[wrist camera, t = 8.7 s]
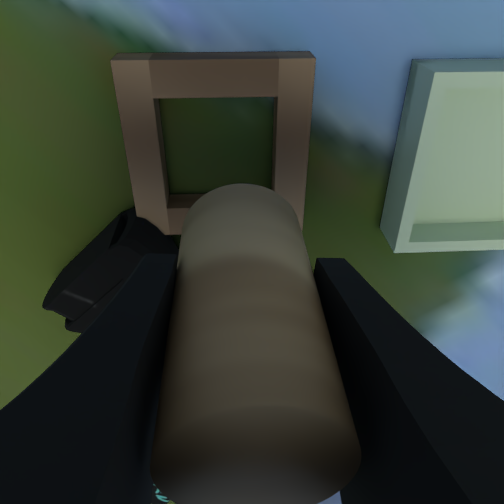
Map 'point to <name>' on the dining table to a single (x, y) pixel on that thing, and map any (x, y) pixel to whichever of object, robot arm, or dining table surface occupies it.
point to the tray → (448, 159)
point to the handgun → (106, 275)
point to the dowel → (249, 364)
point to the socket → (211, 86)
